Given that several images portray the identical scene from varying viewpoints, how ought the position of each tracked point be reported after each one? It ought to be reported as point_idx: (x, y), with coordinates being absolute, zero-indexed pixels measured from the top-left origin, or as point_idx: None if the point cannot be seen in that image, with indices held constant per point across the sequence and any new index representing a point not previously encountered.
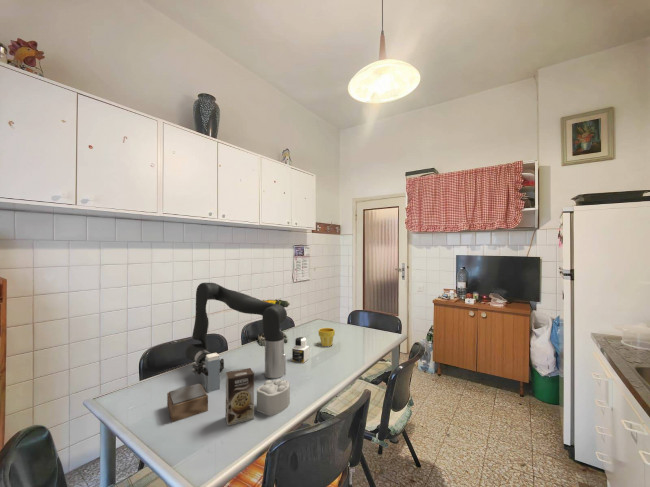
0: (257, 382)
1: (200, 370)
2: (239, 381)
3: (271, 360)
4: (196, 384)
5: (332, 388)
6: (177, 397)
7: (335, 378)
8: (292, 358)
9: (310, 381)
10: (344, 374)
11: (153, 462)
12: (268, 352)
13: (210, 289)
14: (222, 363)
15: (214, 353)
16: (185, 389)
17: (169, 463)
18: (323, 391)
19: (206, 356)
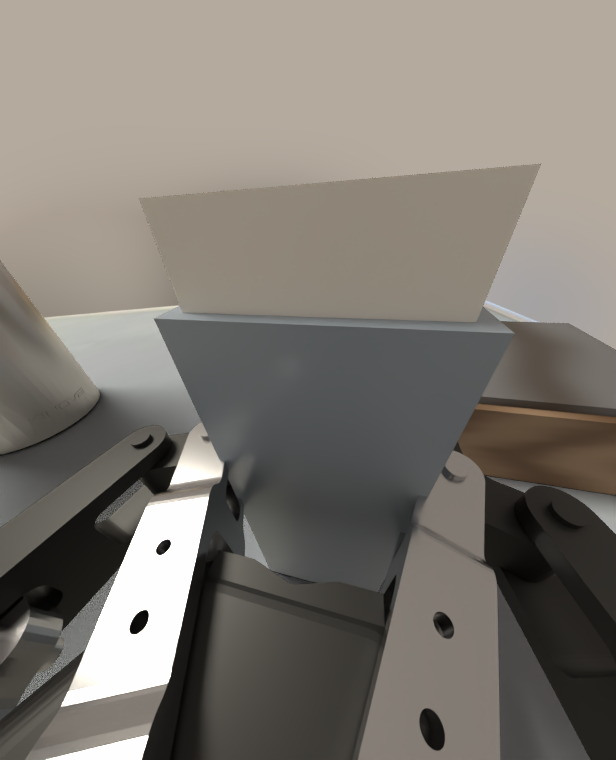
0: (150, 409)
1: (504, 492)
2: None
3: (39, 317)
4: (486, 395)
5: (147, 310)
6: (576, 345)
7: (88, 322)
8: None
9: (113, 335)
10: (60, 322)
11: (521, 315)
12: None
13: None
14: (163, 429)
15: (226, 197)
16: (562, 382)
17: (486, 308)
18: (166, 311)
19: (482, 224)
